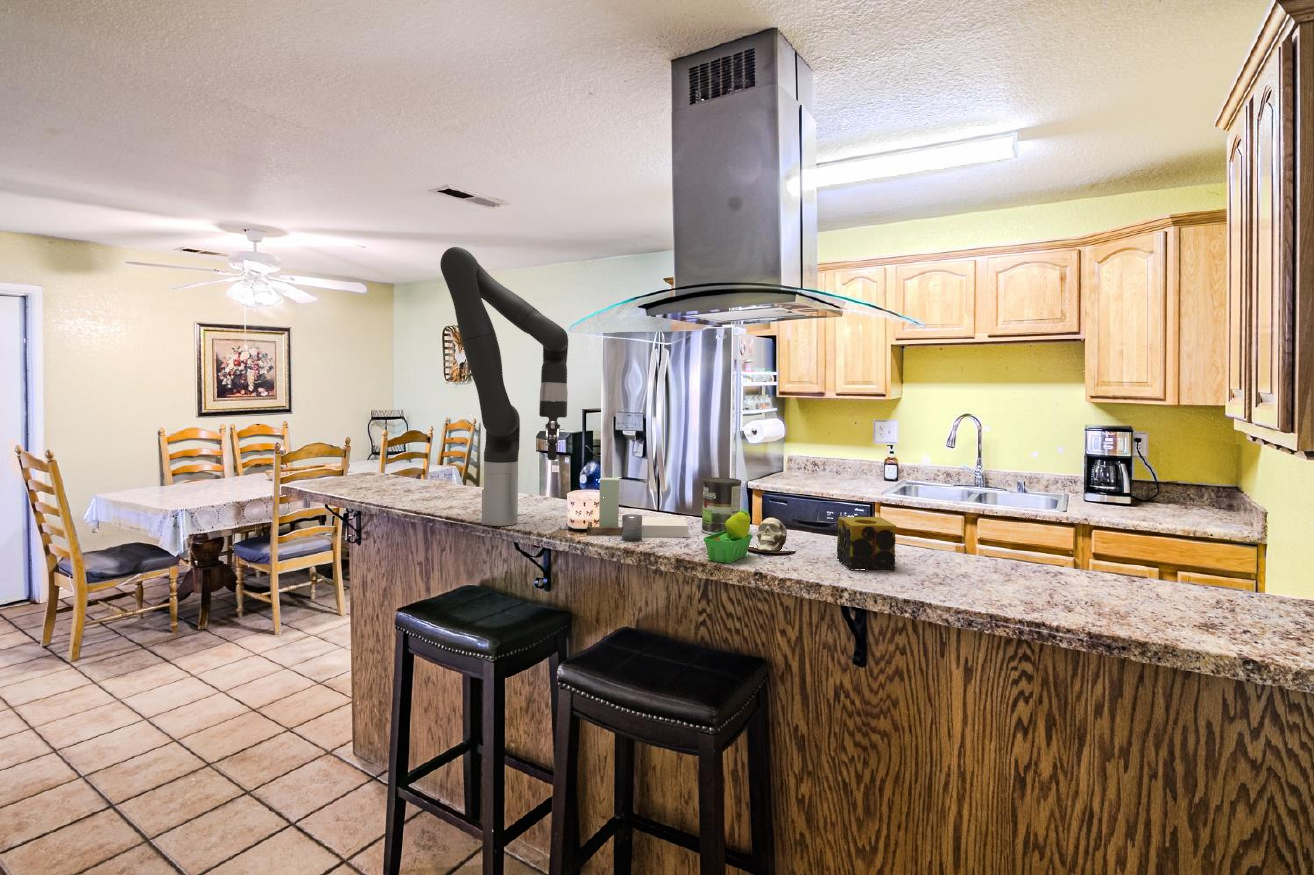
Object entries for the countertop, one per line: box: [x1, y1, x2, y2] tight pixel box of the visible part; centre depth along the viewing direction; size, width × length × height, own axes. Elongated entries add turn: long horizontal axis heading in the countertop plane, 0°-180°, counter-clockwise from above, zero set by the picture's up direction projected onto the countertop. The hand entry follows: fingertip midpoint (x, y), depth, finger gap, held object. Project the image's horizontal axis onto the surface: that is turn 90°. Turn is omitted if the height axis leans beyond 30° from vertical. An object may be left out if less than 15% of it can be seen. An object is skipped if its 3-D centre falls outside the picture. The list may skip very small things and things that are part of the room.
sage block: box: [598, 477, 620, 527], centre depth 182 cm, size 5×5×14 cm
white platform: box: [642, 516, 690, 538], centre depth 182 cm, size 13×12×3 cm
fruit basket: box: [703, 509, 754, 564], centre depth 154 cm, size 11×9×11 cm
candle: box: [836, 516, 897, 571], centre depth 151 cm, size 10×10×10 cm
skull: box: [748, 517, 796, 554], centre depth 164 cm, size 12×10×10 cm
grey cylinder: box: [621, 513, 643, 543], centre depth 172 cm, size 5×5×6 cm
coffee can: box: [701, 477, 742, 535], centre depth 184 cm, size 10×10×14 cm
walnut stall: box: [586, 521, 622, 537], centre depth 182 cm, size 11×10×2 cm
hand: (551, 459), depth 189 cm, fingers open, 8 cm apart
